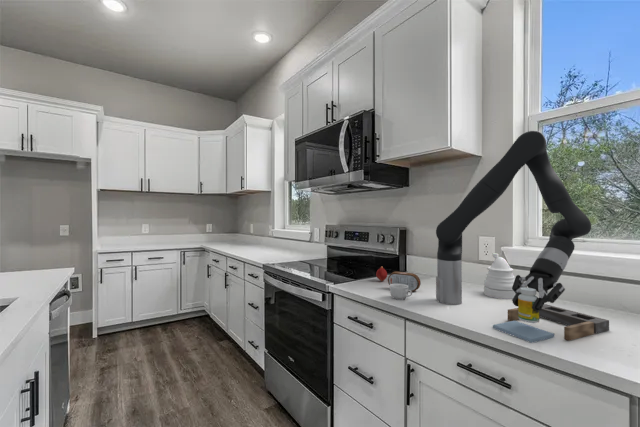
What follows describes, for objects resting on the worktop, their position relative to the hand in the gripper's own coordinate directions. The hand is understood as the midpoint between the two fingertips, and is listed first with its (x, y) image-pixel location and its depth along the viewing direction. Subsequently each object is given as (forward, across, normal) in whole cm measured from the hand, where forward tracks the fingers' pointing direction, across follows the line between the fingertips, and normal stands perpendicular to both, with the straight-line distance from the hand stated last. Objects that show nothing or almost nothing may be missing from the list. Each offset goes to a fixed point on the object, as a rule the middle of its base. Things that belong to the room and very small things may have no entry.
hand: (524, 307), depth 94 cm
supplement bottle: (+2, 0, +4) cm, 5 cm away
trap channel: (-5, 0, +16) cm, 17 cm away
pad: (+6, 0, +4) cm, 8 cm away
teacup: (+14, -45, -3) cm, 47 cm away
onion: (+6, -76, +6) cm, 77 cm away
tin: (+7, -56, +5) cm, 57 cm away
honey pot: (-17, -32, +28) cm, 46 cm away
